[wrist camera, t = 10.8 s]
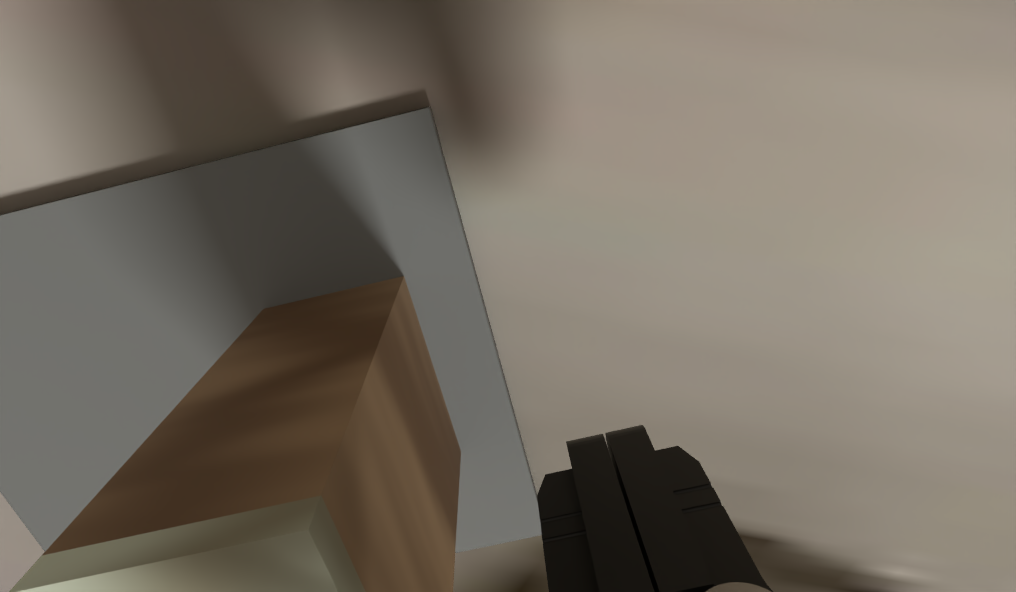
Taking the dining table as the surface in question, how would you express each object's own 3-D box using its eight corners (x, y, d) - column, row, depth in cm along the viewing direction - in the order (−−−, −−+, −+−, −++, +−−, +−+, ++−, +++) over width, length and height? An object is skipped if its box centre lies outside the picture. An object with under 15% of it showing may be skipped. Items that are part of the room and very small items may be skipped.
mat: (430, 106, 14) (429, 107, 14) (545, 525, 19) (546, 534, 19) (-157, 254, 15) (-173, 259, 14) (107, 616, 20) (100, 627, 20)
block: (403, 276, 15) (308, 530, 7) (461, 452, 18) (440, 801, 9) (263, 309, 15) (6, 593, 7) (337, 478, 18) (209, 844, 9)
